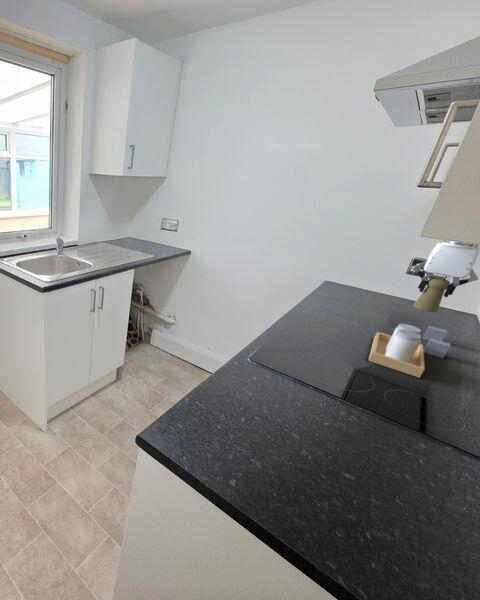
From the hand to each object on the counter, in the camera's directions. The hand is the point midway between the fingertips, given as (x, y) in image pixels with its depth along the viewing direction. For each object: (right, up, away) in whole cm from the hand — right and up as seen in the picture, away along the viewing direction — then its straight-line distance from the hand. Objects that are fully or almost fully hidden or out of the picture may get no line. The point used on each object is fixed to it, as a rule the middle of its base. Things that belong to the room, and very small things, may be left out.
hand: (433, 293), depth 106 cm
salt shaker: (-14, -23, -1) cm, 27 cm away
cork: (0, -6, +2) cm, 6 cm away
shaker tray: (-9, -22, +4) cm, 25 cm away
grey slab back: (+18, -18, +16) cm, 31 cm away
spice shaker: (-10, -22, +3) cm, 24 cm away
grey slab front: (+7, -22, +7) cm, 24 cm away
